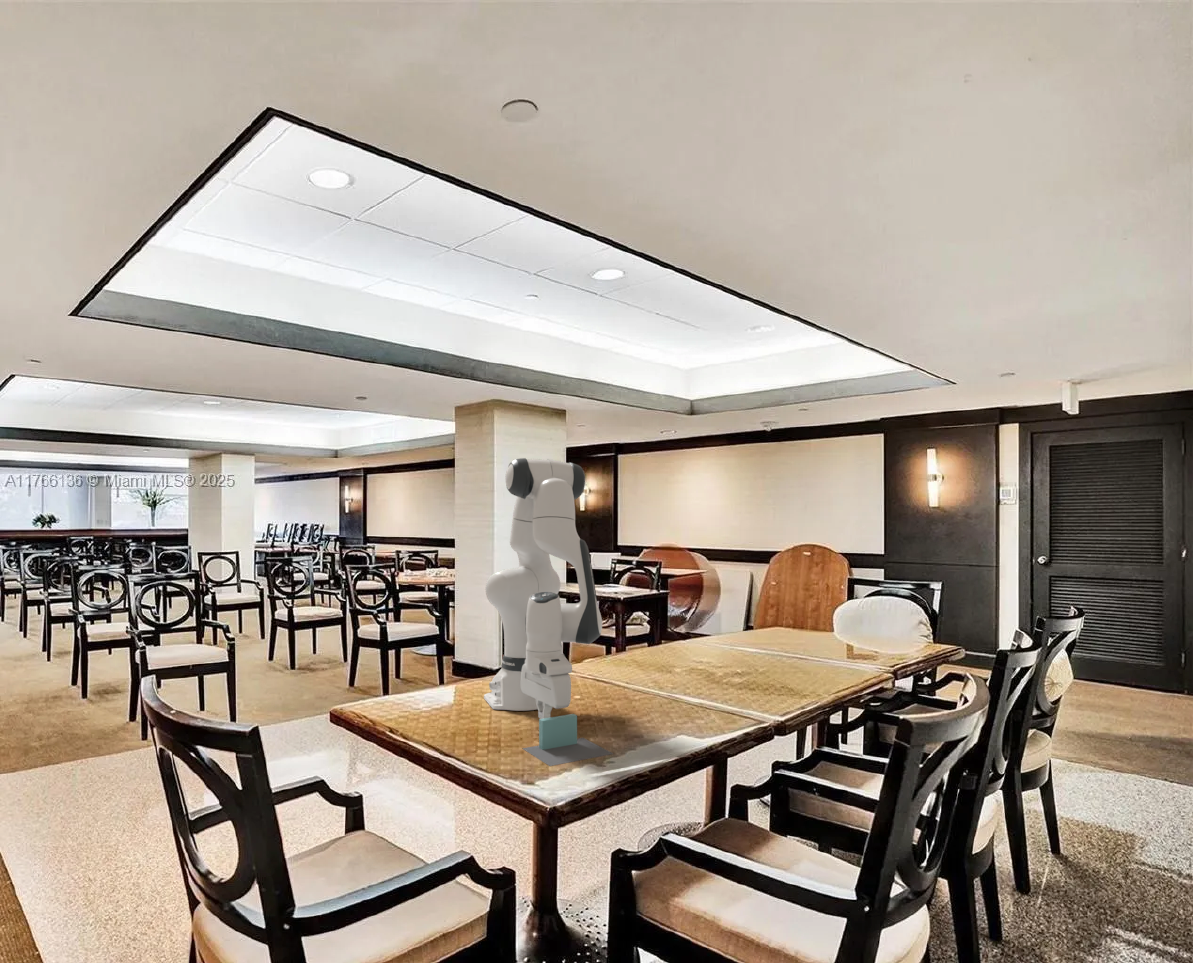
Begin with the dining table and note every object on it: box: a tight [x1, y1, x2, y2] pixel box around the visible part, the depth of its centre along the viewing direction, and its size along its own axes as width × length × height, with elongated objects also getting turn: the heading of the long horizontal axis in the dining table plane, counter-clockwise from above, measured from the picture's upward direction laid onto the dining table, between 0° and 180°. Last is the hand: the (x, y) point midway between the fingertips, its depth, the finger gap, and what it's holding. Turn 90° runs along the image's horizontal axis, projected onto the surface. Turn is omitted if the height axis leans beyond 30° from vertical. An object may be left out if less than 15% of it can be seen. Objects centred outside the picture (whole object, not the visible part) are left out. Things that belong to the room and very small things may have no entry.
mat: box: [522, 737, 614, 767], centre depth 172 cm, size 14×16×1 cm
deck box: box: [538, 713, 578, 750], centre depth 176 cm, size 2×9×6 cm, turn 120°
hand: (544, 719), depth 182 cm, fingers closed
